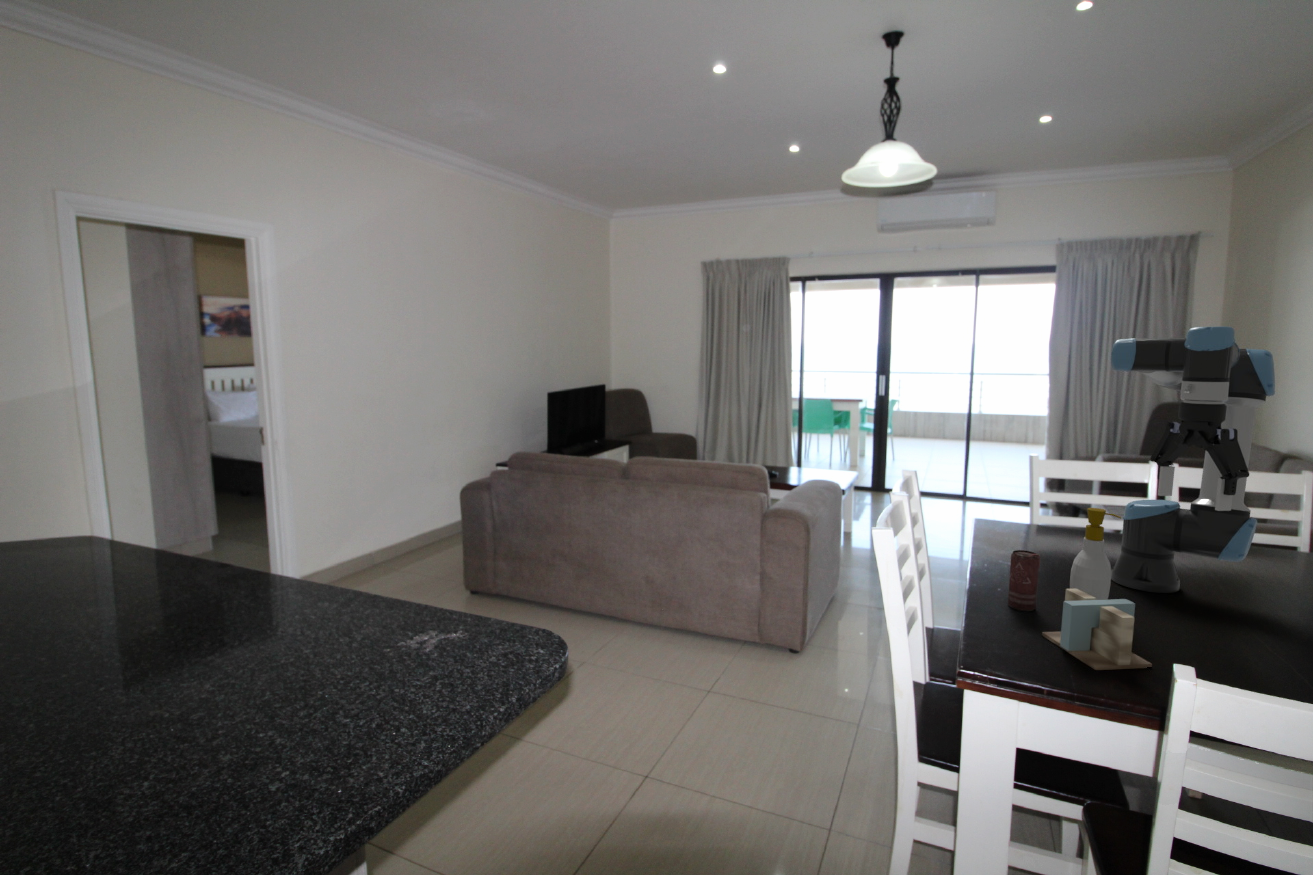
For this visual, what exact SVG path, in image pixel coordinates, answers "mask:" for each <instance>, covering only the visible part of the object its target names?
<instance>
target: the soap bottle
mask: <svg viewBox="0 0 1313 875" xmlns="http://www.w3.org/2000/svg"><path fill="white" fill-rule="evenodd" d="M1086 510H1087V520H1088V524H1087V525H1086V526H1085V533H1084V534H1085V535H1084V537H1083V542H1082V544H1083V545H1082V549H1081V550H1080V552H1079V553H1077V555H1076V556H1075V557H1074V559H1073V562H1072V565H1071V569H1070V579H1069V589H1078V590H1080V591H1083V592H1085V593H1087V594H1089V595H1091V596H1093V597H1095V598H1096V600H1109V596H1110V589H1111V581H1112V579H1111V570H1112V567H1111V561H1110V560H1109V558H1108V556H1107V554H1105V552H1104V549H1105V548H1104V547H1105V540H1104V533H1105V532H1104V530H1105V527H1104V526H1102V525H1103V523H1104V519H1105V516H1113V517H1115V518H1118V519H1122V517H1121V516H1119V515H1117V514H1115V513H1110V512H1109V513H1107V510H1106V509H1105V508H1098V507H1087V509H1086Z"/></svg>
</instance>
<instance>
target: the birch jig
mask: <svg viewBox="0 0 1313 875" xmlns="http://www.w3.org/2000/svg"><path fill="white" fill-rule="evenodd" d="M1080 600H1096V598H1095V597H1093V596H1091V595H1089V594H1087V593H1085V592H1083V591H1080V590H1078V589H1070V588H1065V595H1064V601H1080ZM1135 619H1136V618H1135V616H1134V617H1133V616H1131V615H1129V614H1127V613H1125V612H1123V611H1121V610H1119V609H1117V608H1115V607H1113V606H1105V607H1101V610H1100V621H1099V627H1096V628H1092V629H1091V640H1090V650H1082V651H1067V650H1066V649H1064V648H1063V647H1061V646H1060V639H1061V630H1060V631H1042V632H1041V636H1042V637H1044V638H1045V639H1046V640H1049V641H1050V642H1051V643H1053V644H1055V646H1057V647H1059V648H1061V649H1062V650H1064V651H1065V652H1067V653H1068V654H1070V655H1071V656H1073V657H1075V658H1076V659H1077V660H1079V661H1080V662H1082V663H1084V664H1085V665H1087V666H1089V667H1091V669H1093V670H1095V671H1104V670H1105V671H1107V670H1125V669H1126V670H1129V669H1148V668H1147V667H1153V663H1151V662H1150V661H1148V660H1146V659H1145V658H1143V657H1141V656H1139V655H1137V654H1135V653H1134V652H1132V650H1133V649H1132V648H1133V638H1134V628H1135V626H1134V625H1135Z"/></svg>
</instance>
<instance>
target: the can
mask: <svg viewBox="0 0 1313 875" xmlns="http://www.w3.org/2000/svg"><path fill="white" fill-rule="evenodd" d="M1040 567H1041V555H1040V554H1038V553H1036V552H1033V551H1029V550H1022V549H1021V550H1020V549H1019V550H1018V549H1016V550H1013V551H1012V553H1011V555H1010V565H1009V569H1010V570H1009V577H1008V578H1009V579H1008V580H1009V583H1008V593H1007V594H1008V595H1007V604H1008V606H1009V607H1010V608H1011V609H1012V610H1013V609H1014V610H1016V611H1020V612H1032V611H1034V610H1035V609H1036V607H1037V595H1038V580H1039V569H1040Z"/></svg>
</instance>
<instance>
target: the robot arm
mask: <svg viewBox="0 0 1313 875" xmlns="http://www.w3.org/2000/svg"><path fill="white" fill-rule="evenodd" d="M1235 331H1236V330H1235V329H1234V327H1232V326H1195V327H1191V328H1189V329H1188V331H1187V334H1186V337H1170V338H1168V337H1167V338H1165V337H1164V338H1163V337H1162V338H1134V337H1131V338H1120V339H1117V340H1115V342H1114V343H1113V344H1112V349H1111V353H1110V364H1111V367H1112V369H1113V370H1114V371H1117V372H1119V371H1120V372H1127V373H1129V372H1138V373H1140V374H1142V375H1145V376H1146V377H1147V378H1148V380H1150V381H1151V382H1152V383H1153V384H1155V385H1158V386H1160V387H1162V388H1166V389H1169V390H1174V391H1178V392H1180V399H1181V400H1182V401H1183V402H1180V403H1179V405H1178V416H1177V418H1178V419H1179V420H1180V421H1181V422H1180V421H1171V422H1170V421H1168V422H1167V423H1166V425H1165V431H1164V433H1163V435H1162V436H1161V438H1160V440H1159V442H1158V443H1157V446H1155V449H1154V450H1153V452H1152V454H1151V455H1150V461H1151V462H1154V463H1156V464H1157V466H1158V468H1157V480H1158V487H1157V496H1159V497H1171V496H1173V489H1174V488H1173V487H1174V478H1175V470H1176V469H1175V468H1176V467H1175V465H1174V462H1175V461H1176V460H1177V459H1178V458H1179V457H1180V456H1181V455H1183V454H1184V452H1185V451H1186V450H1187V449H1189V447H1196V448H1203V450H1204V451H1205V452H1204V462H1203V468H1202V475H1201V482H1200V489H1199V495H1198V498H1196V499H1194V500H1193V501H1192V502H1190V508H1189V509H1188V508H1181V505H1180V503H1179V501H1173V500H1168V499H1140V500H1139V499H1138V500H1134V501H1130V502H1128V503H1127V504H1126V505H1125V507H1124V512H1123V514H1124V515H1123V517H1122V520H1123V524H1122V532H1121V533H1122V534H1121V547H1120V552H1119V555H1118V557H1117V559H1116V562H1115V564H1114V566H1113V567H1111V581H1113V582H1114V583H1116V584H1118V585H1121V586H1123V587H1126V588H1129V589H1134V590H1137V591H1143V592H1149V593H1157V594H1158V593H1159V594H1161V593H1162V594H1172V593H1176V592H1178V591H1180V587H1181V586H1180V584H1181V582H1180V581H1181V580H1180V578H1179V577H1178V576H1179V575H1178V571H1177V568H1176V564H1175V552H1176V553H1181V554H1185V555H1192V556H1198V557H1203V558H1208V559H1215V560H1217V561H1227V562H1236V563H1237V562H1242V561H1243V560H1244V559H1245V558H1246V557H1247V555H1248V553H1249V550H1250V548H1251V546H1252V545H1251V544H1252V542H1253V539H1254V537H1255V536H1254V535H1255V533H1256V528H1257V525H1258V519H1257V518H1255V517H1251V509H1250V508H1249V507H1248V506H1247V505H1246V504H1245V502H1244V501H1245V495H1246V485H1247V478H1248V477H1250V472H1249V465H1250V464H1249V463H1250V457H1251V450H1252V448H1251V447H1252V442H1253V441H1252V440H1253V435H1254V427H1255V421H1256V412H1257V409H1258V408H1260V407H1262V406H1263V405H1264V404H1266V400H1267V397H1273V396H1274V395H1275V392H1276V380H1275V379H1276V378H1275V363H1274V356H1273V354H1272V352H1271V351H1270V350H1268V349H1260V348H1259V349H1257V348H1256V349H1255V348H1248V347H1247V348H1240V347H1239V345H1238V344H1237V343H1236V339H1235Z"/></svg>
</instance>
